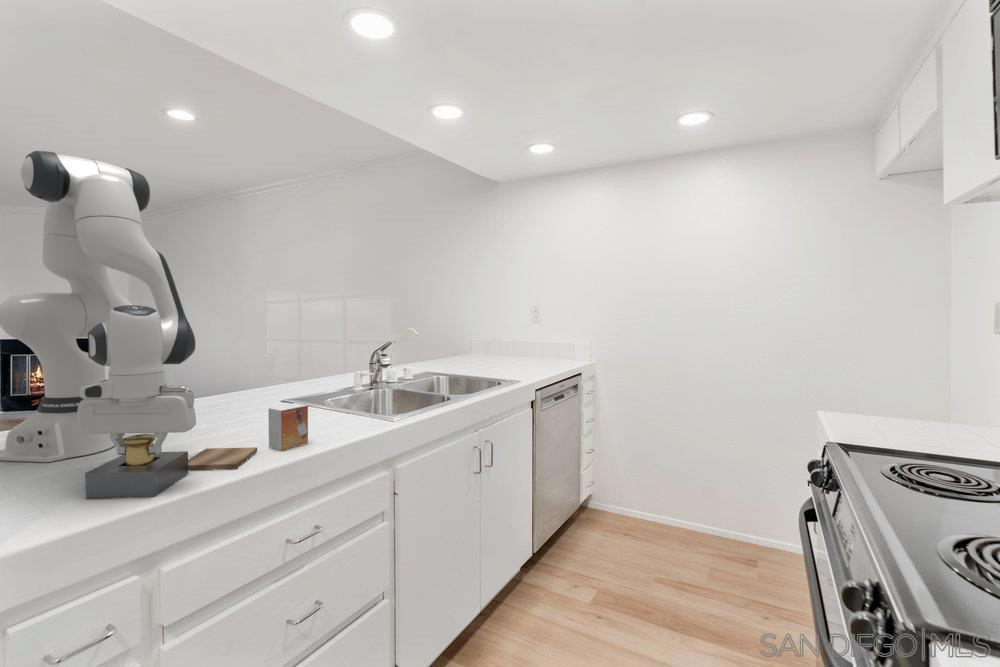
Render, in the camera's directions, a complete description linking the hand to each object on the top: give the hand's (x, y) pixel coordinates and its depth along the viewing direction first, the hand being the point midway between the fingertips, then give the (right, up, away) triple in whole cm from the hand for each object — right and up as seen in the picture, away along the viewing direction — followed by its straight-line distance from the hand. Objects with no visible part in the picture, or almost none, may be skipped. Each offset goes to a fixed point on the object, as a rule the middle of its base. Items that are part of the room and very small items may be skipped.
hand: (139, 453), depth 93 cm
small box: (+17, -5, +28) cm, 33 cm away
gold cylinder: (0, -7, 0) cm, 7 cm away
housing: (0, -7, 0) cm, 7 cm away
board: (+7, -6, +15) cm, 18 cm away
